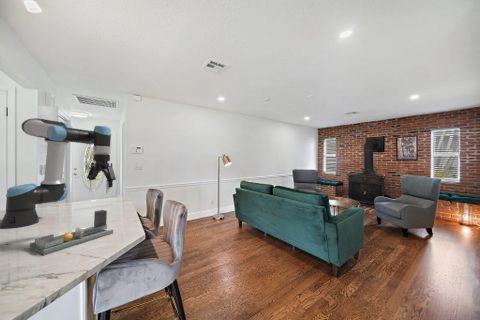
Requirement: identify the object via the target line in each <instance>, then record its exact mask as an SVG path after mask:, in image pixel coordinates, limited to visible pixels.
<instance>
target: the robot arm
mask: <svg viewBox="0 0 480 320" xmlns="http://www.w3.org/2000/svg"><path fill="white" fill-rule="evenodd" d="M93 127H94V128H93V130H88V129H81V128H73V126H72V125H71V124H70V123H67V122H63V121H56V120H50V119H46V118H45V119H44V118H28V119H26V120H24V121H23V122H22V123H21V130H22V132H24V133H25V134H26V135H29V136H32V137H36V138H41V139H42V138H43V139H44V142H45V143H46V144H47V147H46V155H45V157H46V158H45V166H44V175H43V176H44V177H43V180H42V181H41V182H40V183H39V184H40V185H38V184H36V183H28V184H19V185H13V186H10V187H9V188H8V189H7V191H6V194H5V197H6V200H5V202H6V203H5V213H4V215H3V218H2V219H1V221H0V228H1V229H14V228H23V227H27V226H32V225H35V224H38V223H39V221H40V217H39V214H38V212H37V209H36V208H37V207H36V206H37V205H43V204H49V203H58V202H62V201H64V200H65V199H66V198H67V196H68V195H69V191H70V190H69V185H68V184H67V183H66V182H65V181H64V180H63V174H64V165H65V154H66V146H67V145H68V144H69V143H77V144H86V145H93V148H92V149H93V155H92V156H93V157H92V158H93V159H92V160H93V162H91V164H90V168H89V171H88V173H87V176H86V177H87V178H86V179H87V180H89V193H91V192H96V190H97V177H98V175H99V173H100V172H102V173H103V174H104V177H105V178H106V184H105V194H112V193H113V185H114V183H113V182H114V181H116V179H117V177H116V174H115V171H114V168H113V163H112V162H110V161H111V155H110V154H111V139H112V133H111V132H112V130H111V127H110V126H105V125H95V126H93Z"/></svg>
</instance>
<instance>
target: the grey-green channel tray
mask: <svg viewBox="0 0 480 320" xmlns="http://www.w3.org/2000/svg"><path fill="white" fill-rule="evenodd" d="M70 233H71V234H72V235H73V237H72V239H71V240H69V241H66V242H65V241H63V244H62V245H58V246H55V247H52V248H48V249H45V250H43V251H42V250H40V249H38V248H36V247H35V241H34V242H30V243H29V246H28V247H29V249H31V250H33V251H34V252H37V253H39V254H41V255H42V256H47V255H49V254H52V253H55V252H56V253H57V252H58V251H59V252H60V251H62V250H65V249H68V248H72V247H74V246H78V245H81V244H83V243H87V242H91V241H93V240H96V239H100V238H103V237H106V236H109V235H112V234H114V229H104V230H101V231H97V232H94V233H90V234H87V235H83V238H78V237H76V236H75V231H70ZM62 235H63V234H60V235H56V236H54V239H53V241H55V240H58V239H61V238H62Z"/></svg>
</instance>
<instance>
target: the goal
mask: <svg viewBox="0 0 480 320" xmlns="http://www.w3.org/2000/svg"><path fill="white" fill-rule="evenodd" d="M54 237H55V236H54V234H48V235H45V236H41V237H37V238H34V242H35V247H36V248H38V249H40V250H42V251H43V250H45V249H48V248H52V247H55V246H58V245H62V244H63V239H58V240H55V241H53V239H54Z"/></svg>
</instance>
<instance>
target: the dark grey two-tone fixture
mask: <svg viewBox="0 0 480 320" xmlns="http://www.w3.org/2000/svg"><path fill="white" fill-rule="evenodd" d="M107 214H108V211H107V210H104V209H100V210H96V211H94V216H93V218H94V219H93V221H94V223H93V226H90V227H86V228H80V227H75V231H74V232H75V236H76V237H78V238H83V235H87V234H90V233H94V232H97V231H101V230H108V223H107V219H108V218H107V216H108V215H107Z"/></svg>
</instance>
